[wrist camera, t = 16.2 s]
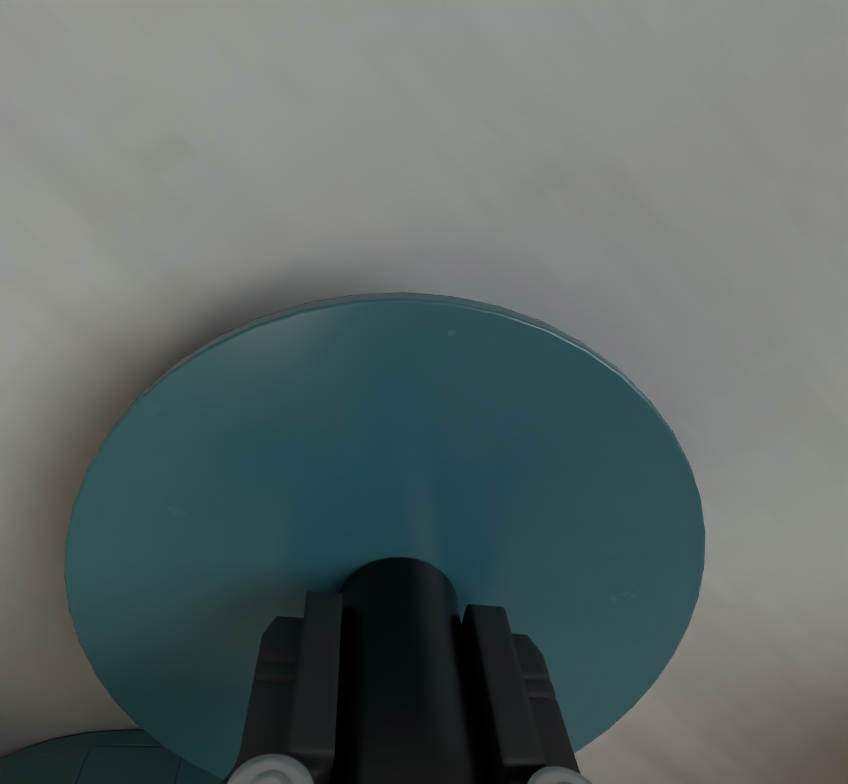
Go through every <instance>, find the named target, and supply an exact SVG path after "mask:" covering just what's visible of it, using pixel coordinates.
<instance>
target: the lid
mask: <svg viewBox="0 0 848 784" xmlns="http://www.w3.org/2000/svg"><path fill="white" fill-rule="evenodd" d="M704 552H705V528H704V521H703V514H702V506H701V499H700V495H699V492H698V489H697V486H696V483H695V479H694V476H693V473H692V470H691V467H690V464H689V462H688V460H687V458H686V456H685V454H684V452H683V450H682V448H681V446H680V444H679V442H678V441H677V439H676V437H675V435H674V433H673V431H672V430H671V429H670V427H669V426H668V425H667V423H666V422H665V421H664V419H663V418H662V416H661V415H660V414H659V412H658V411H657V410H656V408H655V407H654V406H653V404H652V403H651V402H650V401H649V399H648V398H647V397H646V396H645V395H644V394H643V393H642V392H641V391H640V390H639V389H638V388H637V387H636V386H635V385H634V384H633V383H632V382H631V381H630V380H629V379H628V378H627V377H626V376H625V375H624V374H623V373H622V372H621V371H620V370H619V369H618V368H617V367H615V366H614V365H613V364H611V363H610V362H609V361H607V360H606V359H604V358H603V357H602V356H600V355H599V354H598V353H596V352H595V351H593V350H592V349H591V348H589V347H588V346H586V345H585V344H584V343H582V342H581V341H579V340H577V339H575V338H573V337H571V336H569V335H567V334H565V333H563V332H561V331H560V330H558V329H556V328H554V327H552V326H550V325H548V324H546V323H544V322H542V321H539V320H537V319H534V318H531V317H528V316H525V315H522V314H520V313H517V312H514V311H511V310H508V309H506V308H503V307H500V306H496V305H491V304H486V303H482V302H477V301H472V300H468V299H463V298H458V297H453V296H442V295H430V294H417V293H405V292H402V293H381V294H361V295H350V296H344V297H339V298H333V299H328V300H322V301H316V302H311V303H305V304H302V305H299V306H295V307H292V308H289V309H286V310H283V311H279V312H276V313H273V314H270V315H267V316H264V317H260V318H257V319H255V320H253V321H251V322H249V323H247V324H245V325H242V326H240V327H238V328H236V329H234V330H232V331H230V332H227V333H225V334H223V335H221V336H219V337H217V338H215V339H213V340H211V341H210V342H208V343H207V344H205V345H204V346H202V347H201V348H199V349H198V350H196V351H194V352H193V353H191V354H190V355H188V356H187V357H185V358H184V359H182V360H181V361H179V362H177V363H176V364H175V365H174V366H172V367H171V368H170V369H169V370H168V371H167V372H166V373H164V374H163V375H162V376H161V377H160V378H159V379H157V380H156V381H155V382H154V383H153V384H152V385H151V386H149V387H148V388H147V389H146V390H145V391H144V392H143V393H142V394H141V395H140V396H139V397H138V398H137V400H136V401H135V402H134V403H133V404H132V406H131V407H130V408H129V409H128V410H127V411H126V413H125V414H124V415H123V416H122V417H121V419H120V420H119V421H118V422H117V423H116V424H115V426H114V427H113V428H112V430H111V431H110V432H109V434H108V435H107V437H106V438H105V440H104V442H103V443H102V445H101V447H100V448H99V450H98V452H97V453H96V455H95V457H94V458H93V460H92V462H91V463H90V465H89V467H88V468H87V470H86V473H85V476H84V478H83V481H82V483H81V486H80V488H79V491H78V493H77V496H76V498H75V501H74V504H73V507H72V512H71V517H70V522H69V527H68V532H67V536H66V543H65V584H66V590H67V597H68V604H69V611H70V615H71V618H72V621H73V624H74V627H75V630H76V633H77V636H78V639H79V642H80V645H81V647H82V649H83V651H84V653H85V655H86V657H87V659H88V661H89V662H90V664H91V666H92V668H93V670H94V672H95V674H96V676H97V677H98V678H99V680H100V681H101V682H102V684H103V685H104V687H105V688H106V689H107V691H108V692H109V694H110V695H111V696H112V698H113V699H114V701H115V702H116V703H117V704H118V705H119V706H120V707H121V708H122V709H123V710H124V711H125V712H126V713H127V714H128V715H129V717H130V718H131V719H132V720H133V721H134V722H135V723H136V724H137V725H138V726H139V727H141V728H142V729H143V730H144V731H145V732H147V733H148V734H149V735H150V736H152V737H153V738H154V739H155V740H156V741H158V742H159V743H160V744H161V745H163V746H164V747H165V748H167V749H169V750H170V751H172V752H173V753H175V754H176V755H178V756H180V757H181V758H183V759H184V760H186V761H187V762H189V763H191V764H192V765H194V766H196V767H198V768H200V769H202V770H204V771H206V772H208V773H210V774H212V775H214V776H216V777H218V778H220V779H222V780H224V779H225V778H226V777H227V776H228V774H229V773H230V772H231V770H232V769H233V767H234V765H235V763H236V761H237V758H238V755H239V751H240V746H241V741H242V736H243V731H244V725H245V720H246V715H247V710H248V705H249V700H250V695H251V689H252V684H253V680H254V674H255V669H256V664H257V659H258V653H259V648H260V643H261V638H262V634H263V633H264V632H265V631H266V629H267V628H268V627H269V625H270V624H271V623H272V621H273V620H274V619H275V618H276V616H284V617H298V618H304V609H305V601H306V593H307V591H314V592H327V593H340V594H342V614H341V634H340V654H339V674H338V694H337V714H336V735H335V754H334V760H333V767H332V773H331V779H330V784H489V781H488V775H487V769H486V764H485V758H484V752H483V746H482V741H481V735H480V729H479V723H478V718H477V712H476V706H475V700H474V695H473V689H472V683H471V678H470V672H469V666H468V660H467V655H466V649H465V643H464V637H463V632H462V626H461V624H462V620H463V616H464V612H465V609H466V606H467V605H468V604H476V605H488V606H501V607H504V609H505V611H506V614H507V618H508V621H509V625H510V629H511V633H512V634H526V635H528V636H529V637H530V639H531V640H532V641H533V643H534V644H535V645H536V646H537V648H538V649H539V650H540V651H541V653H542V654H543V656H544V659H545V663H546V666H547V669H548V672H549V675H550V681H551V682H552V685H553V688H554V692H555V695H556V696H555V699H556V700H557V701H558V704H559V708H560V711H561V714H562V717H563V721H564V724H565V727H566V730H567V733H568V737H569V740H570V743H571V746H572V750H573V753H575V752H576V751H578V750H580V749H581V748H583V747H584V746H586V745H587V744H589V743H590V742H591V741H593V740H594V739H595V738H597V737H598V736H599V735H601V734H602V733H604V732H605V731H606V730H608V729H609V728H610V727H611V726H612V725H613V724H615V723H616V722H617V721H618V720H619V719H620V718H621V717H622V716H623V715H625V714H626V713H627V712H628V711H629V710H630V709H631V708H632V707H633V706H634V705H635V704H636V703H637V702H638V701H639V700H640V698H641V697H642V696H643V695H644V694H645V693H646V692H647V690H648V689H649V688H650V687H651V686H652V685H653V684H654V683H655V681H656V680H657V678H658V677H659V675H660V674H661V673H662V671H663V670H664V668H665V667H666V665H667V664H668V662H669V661H670V659H671V658H672V656H673V655H674V653H675V651H676V649H677V647H678V645H679V643H680V641H681V639H682V637H683V635H684V633H685V631H686V629H687V628H688V625H689V622H690V619H691V616H692V613H693V611H694V608H695V605H696V602H697V599H698V596H699V590H700V585H701V579H702V574H703V569H704Z"/></svg>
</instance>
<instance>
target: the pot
mask: <svg viewBox="0 0 848 784" xmlns="http://www.w3.org/2000/svg"><path fill="white" fill-rule="evenodd" d="M222 781H223V780H222V779H220V778H218V777H216V776H214V775H212V774H210V773H208V772H206V771H204V770H202V769H200V768H198V767H196V766H194V765H192V764H191V763H189V762H187V761H186V760H184V759H183V758H181V757H180V756H178V755H176V754H175V753H173V752H172V751H170V750H169V749H167V748H165V747H164V746H163V745H161V744H160V743H159V742H158V741H156V740H155V739H154V738H153V737H152V736H150V735H149V734H148V733H147V732H145V731H107V732H97V733H87V734H80V735H75V736H70V737H65V738H59V739H55V740H51V741H48V742H44V743H41V744H38V745H34V746H31V747H28V748H25V749H23V750H21V751H18V752H16V753H13V754H11V755H9V756H6V757H4V758H2V759H0V784H220V783H221V782H222Z"/></svg>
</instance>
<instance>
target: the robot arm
mask: <svg viewBox="0 0 848 784" xmlns="http://www.w3.org/2000/svg"><path fill="white" fill-rule="evenodd" d="M341 614H342V594H340V593H327V592H314V591H307V593H306V601H305V609H304V618H298V617H284V616H276V618H275V619H274V620H273V621H272V623H271V624H270V625H269V627H268V628H267V629H266V631H265V632H264V633H263V634H262V638H261V643H260V648H259V653H258V659H257V664H256V669H255V674H254V680H253V684H252V689H251V695H250V700H249V705H248V710H247V715H246V720H245V725H244V731H243V736H242V741H241V746H240V751H239V755H238V758H237V761H236V763H235V765H234V767H233V769H232V770H231V772H230V773H229V774H228V776H227V777H226V778H225V779H224V780H223V781H222V782H221V783H220V784H330V779H331V773H332V767H333V760H334V754H335V735H336V714H337V694H338V674H339V654H340V634H341ZM461 626H462V632H463V637H464V643H465V649H466V655H467V660H468V666H469V672H470V678H471V683H472V689H473V695H474V700H475V706H476V712H477V718H478V723H479V729H480V735H481V741H482V746H483V752H484V758H485V764H486V769H487V775H488V781H489V784H592V783H591V782H590V781H589V780H587V779H586V778H585V777H583V776H582V775H581V774H580V771H579V768H578V766H577V762H576V759H575V756H574V753H573V750H572V746H571V743H570V740H569V737H568V733H567V730H566V727H565V724H564V721H563V717H562V714H561V711H560V708H559V704H558V701H557V700H556V699H555V696H556V695H555V692H554V688H553V685H552V682H551V681H550V675H549V672H548V669H547V666H546V663H545V659H544V656H543V654H542V653H541V651H540V650H539V649H538V648H537V646H536V645H535V644H534V643H533V641H532V640H531V639H530V637H529V636H528V635H526V634H512V633H511V629H510V625H509V621H508V618H507V614H506V611H505V609H504V607H501V606H488V605H476V604H468V605H467V606H466V609H465V612H464V616H463V620H462V624H461Z"/></svg>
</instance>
